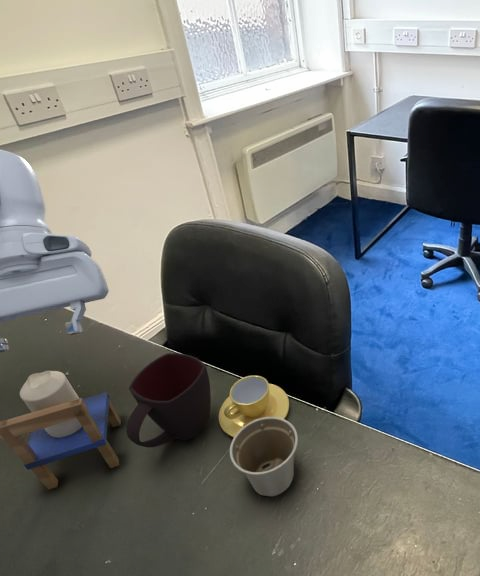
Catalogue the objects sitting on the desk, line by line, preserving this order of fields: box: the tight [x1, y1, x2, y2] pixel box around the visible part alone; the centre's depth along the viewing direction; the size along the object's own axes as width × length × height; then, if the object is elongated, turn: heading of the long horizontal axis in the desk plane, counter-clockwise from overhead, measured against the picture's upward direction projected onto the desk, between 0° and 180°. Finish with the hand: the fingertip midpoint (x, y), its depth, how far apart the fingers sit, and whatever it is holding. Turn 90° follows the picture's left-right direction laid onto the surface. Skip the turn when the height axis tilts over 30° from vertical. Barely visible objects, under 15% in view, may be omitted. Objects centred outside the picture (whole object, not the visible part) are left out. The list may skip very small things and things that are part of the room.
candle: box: [19, 370, 82, 438], centre depth 65 cm, size 6×6×10 cm
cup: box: [218, 374, 290, 438], centre depth 75 cm, size 12×12×5 cm
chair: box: [0, 391, 122, 490], centre depth 67 cm, size 10×10×15 cm
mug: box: [125, 352, 212, 448], centre depth 70 cm, size 10×14×12 cm
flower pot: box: [229, 417, 299, 497], centre depth 65 cm, size 9×9×9 cm
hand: (38, 342), depth 65 cm, fingers open, 8 cm apart
